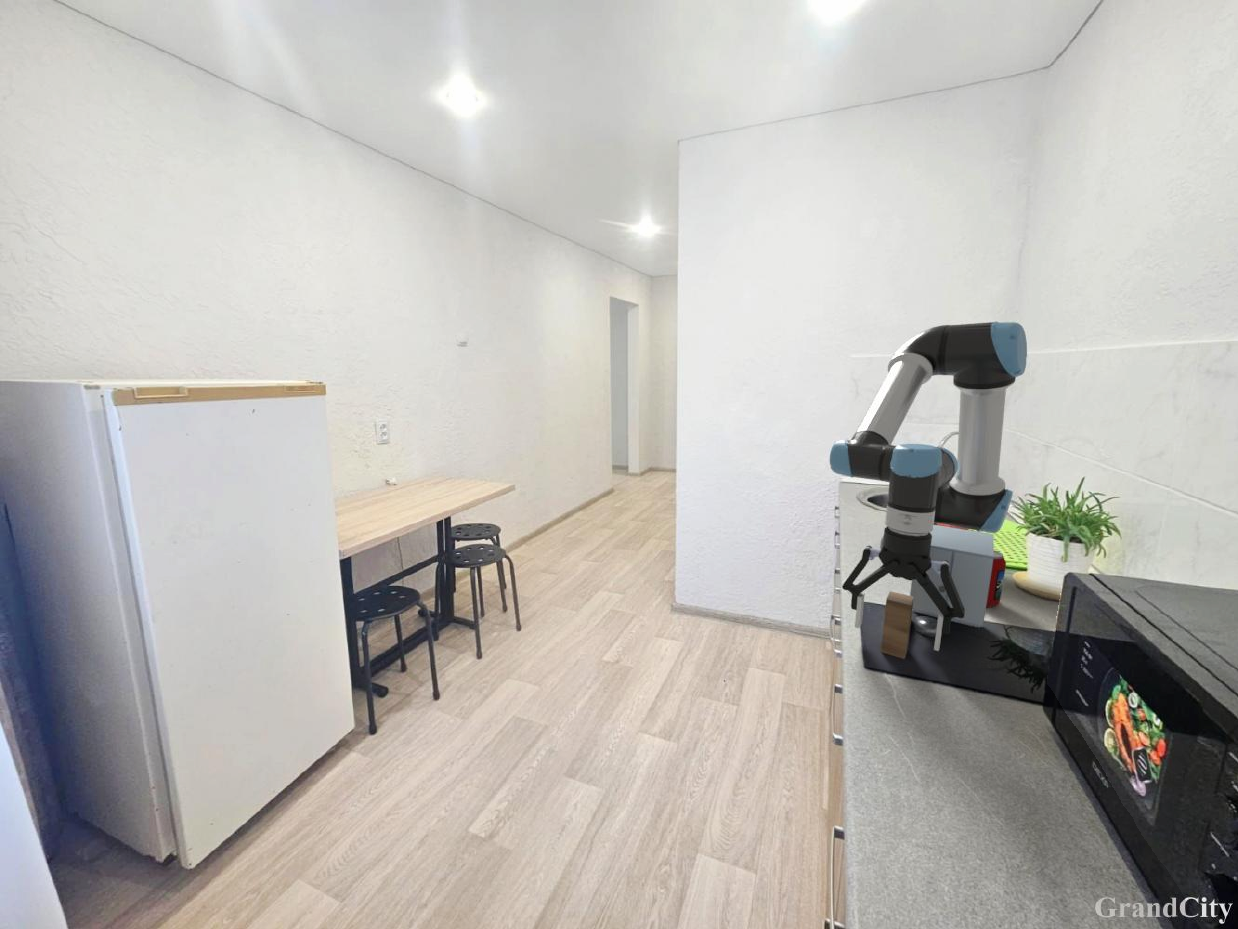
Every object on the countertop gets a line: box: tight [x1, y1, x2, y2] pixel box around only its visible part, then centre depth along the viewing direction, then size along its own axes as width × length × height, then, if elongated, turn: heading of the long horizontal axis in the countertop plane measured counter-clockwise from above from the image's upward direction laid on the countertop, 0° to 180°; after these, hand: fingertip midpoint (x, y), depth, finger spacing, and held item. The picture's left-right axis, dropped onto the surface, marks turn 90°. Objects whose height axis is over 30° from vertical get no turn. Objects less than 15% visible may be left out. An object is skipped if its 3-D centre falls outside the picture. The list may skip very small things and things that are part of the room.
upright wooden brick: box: [880, 591, 914, 660], centre depth 97 cm, size 17×4×11 cm, turn 143°
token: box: [913, 615, 944, 638], centre depth 100 cm, size 5×5×2 cm
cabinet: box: [909, 524, 995, 629], centre depth 98 cm, size 15×12×20 cm
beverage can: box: [986, 549, 1007, 608], centre depth 110 cm, size 7×7×12 cm
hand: (895, 635), depth 93 cm, fingers open, 12 cm apart
